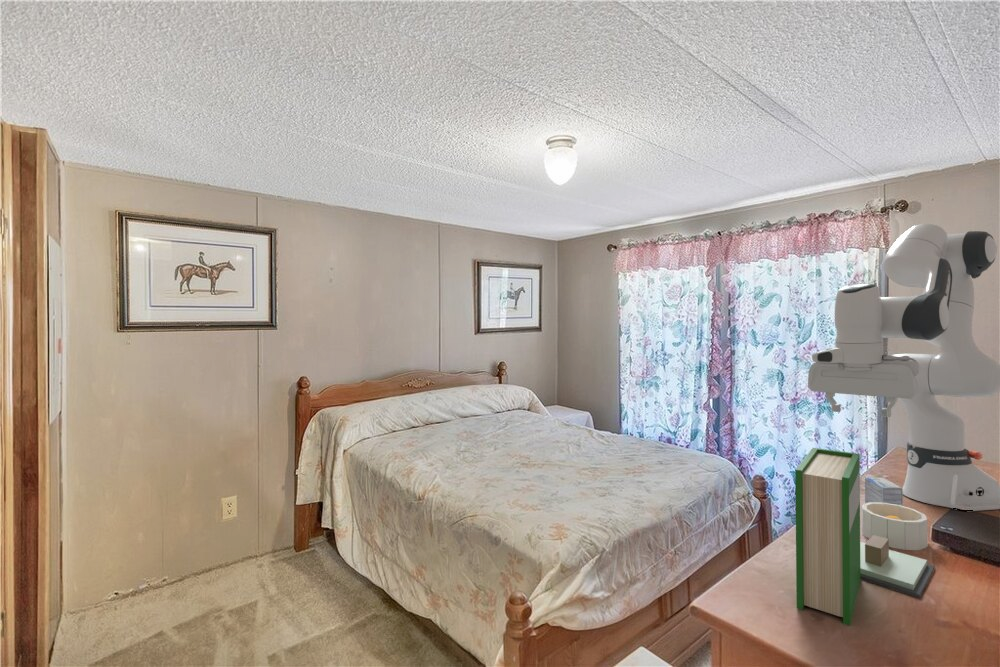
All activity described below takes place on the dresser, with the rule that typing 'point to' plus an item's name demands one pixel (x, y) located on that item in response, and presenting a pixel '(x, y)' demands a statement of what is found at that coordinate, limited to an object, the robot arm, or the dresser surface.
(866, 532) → the bowl
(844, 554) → the hardback book
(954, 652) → the dresser surface
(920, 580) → the mat
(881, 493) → the medicine box
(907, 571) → the lid
